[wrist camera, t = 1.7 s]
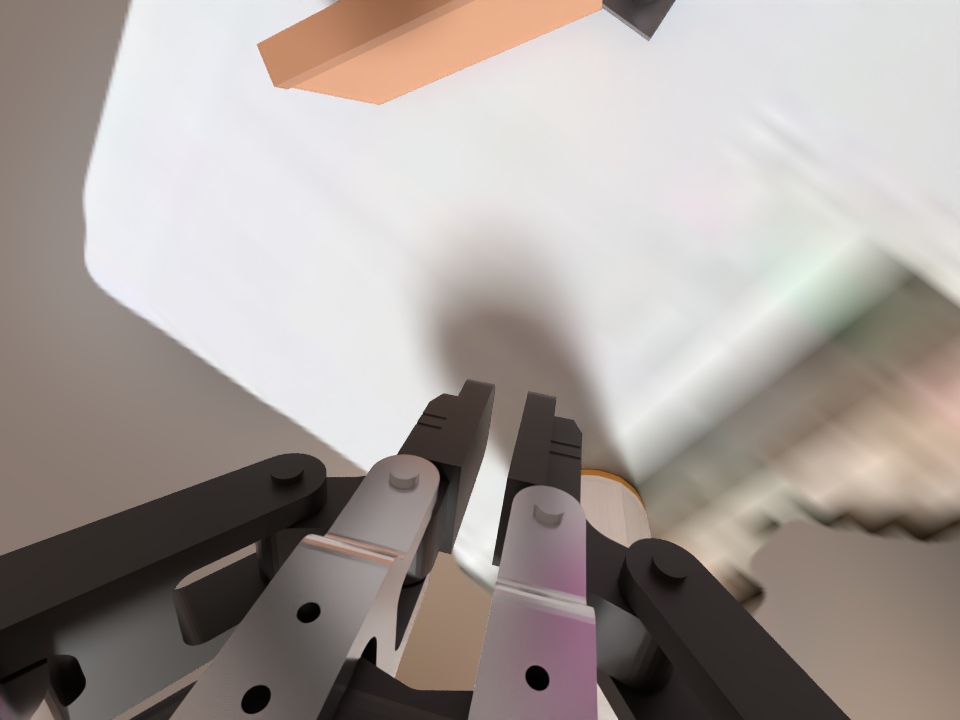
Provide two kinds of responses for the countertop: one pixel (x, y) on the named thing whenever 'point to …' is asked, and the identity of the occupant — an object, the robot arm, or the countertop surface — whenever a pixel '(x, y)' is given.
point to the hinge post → (639, 13)
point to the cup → (612, 526)
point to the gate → (404, 42)
